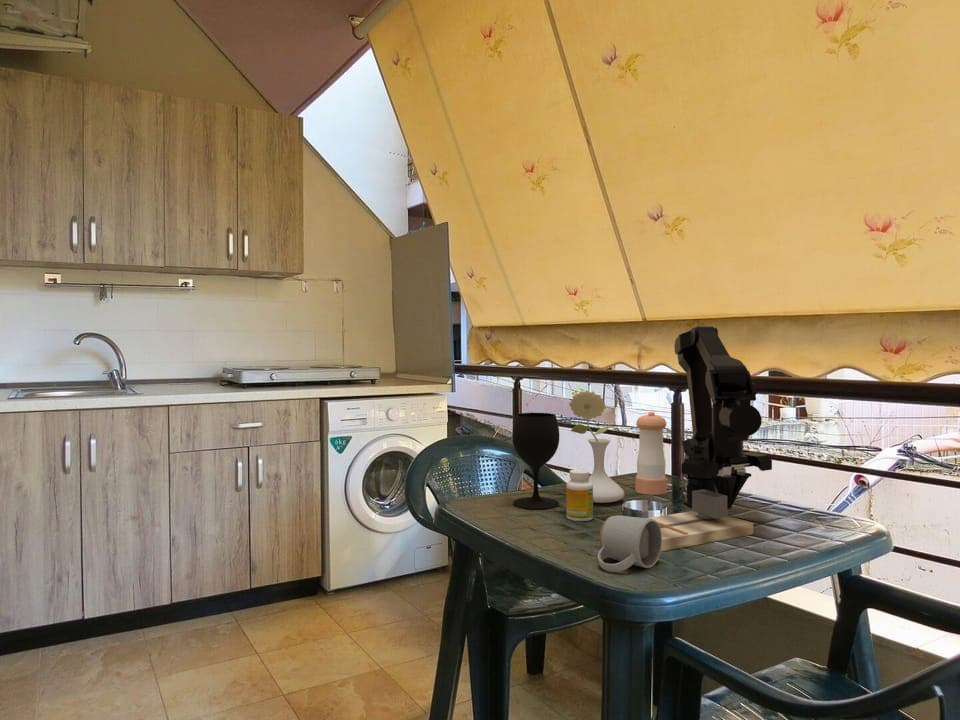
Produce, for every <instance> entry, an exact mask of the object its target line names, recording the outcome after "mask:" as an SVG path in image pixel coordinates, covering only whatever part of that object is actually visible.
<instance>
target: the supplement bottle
mask: <svg viewBox="0 0 960 720" xmlns="http://www.w3.org/2000/svg"><path fill="white" fill-rule="evenodd" d="M589 476H590V471H589V470H587V469H571V470H569V479H570V480H568V482H566V503H565V504H566V505H565V506H566V507H565V508H566V509H565V511H566V514H565V515H566V518H567V519H568V520H570V521H573V522H588V521H591V520H593V518H594V502H593V484H592V483H591V482H590V481H588V479H589Z"/></svg>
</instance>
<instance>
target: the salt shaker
mask: <svg viewBox="0 0 960 720" xmlns="http://www.w3.org/2000/svg"><path fill="white" fill-rule="evenodd" d="M635 425H636V427H637V428H638V429H639V442H638V443H639V445H638V447H639V448H638V455H637V459H636V460H637V461H636V475H635V491H636V492H637V493H638V494H642V495H652V496H657V495H659V496H660V495H665V494H667V493H668V490H667V488H668V484H667V483H668V479H667V476H666V457H665V451H664V430H665V429H666V427H667V421H666V419H665V417H662V416H660V415H657V414H656V413H655V412H654V411H649V412H648V413H647V414H645V415H642V416H639V417H638V418H637V420H636V424H635Z"/></svg>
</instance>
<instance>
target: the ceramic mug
mask: <svg viewBox="0 0 960 720" xmlns="http://www.w3.org/2000/svg"><path fill="white" fill-rule="evenodd" d="M648 518H649V517H637V516H636V517H635V516H628V515H626V516H625V515H611V516H609V517H608V518H607V517H606V519H605V520H604V522H603V524H602V526H601V528H600V531H599V538H598V539H599V546H600V550H599V551H598V553H597V562H598V564H599V566H600V568H601V569H602V570H604V571H605V572H609V573H619V572H623V571H626V570H627V569H629V568H630V567H632V566H635V567H639V568H643V569H650V568H652V567H654V566H655V565H656V563H657V562H658V560H659V558H660V556H661V552H662V551H661V547H662V534H661V529H660V526H659V524H658V523H657V522H656V521H655V520H653V519H648ZM605 556H606V557H608V558H610V559H611V560H615V561H618V562H616V563H606V562H604V561H603V560H604V558H605Z"/></svg>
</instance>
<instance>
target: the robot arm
mask: <svg viewBox="0 0 960 720" xmlns="http://www.w3.org/2000/svg"><path fill="white" fill-rule="evenodd" d="M673 348H674V353H675V355H677V362H678V365H679V366H680V367H681V368H682V370H683V371H684V372H685V374H686V377H687V379H686V380H687V386H688V387H687V388H688V389H687V390H688V398H689V399H688V400H689V408H690V410H689V411H690V418H691V427H692V436H691V438H688V439H685V440H684V441H683V451H684V457H683V460H682V462H681V476H682V477H683V478H685V479H686V480H687V484H686V500H684V501H682V505H686V506H689V507H692V491H696V490H703V489H704V490H708V491H712V492H715V493H719V494H723V495H726V496H727V510H729V509H731V508H732V507H733V505H734V503H735V501H736V499H737V498H738V495H739V493H740V492H741V490H742V488H743V486H744V485H745V484H746V482H747V480H748V479H750V477H752V473H751V472H750V473H748V472H747V470H746V468H748V467H749V468H751V467H755V468H758V469H759V470H760V471H761V472H765V471H771V470H772V469H773V459H772V458H771V457H770V456H769V455H768V454H764V453H760V452H759V453H758V452H752V451H747V452H744V441H748V440H749V436H752V435H755V434H756V433H757V432H758V431H759V430H760V428H761V425H762V423H763V419H762V415H761V413H760V411H759V409H758V408H756V407H755V406H753V405H751V401H752V402H756V401H757V397H756V396H757V394H758V391H757V388H756V386H755V383H754V379H753V377H752V376H751V373H750V371H749V370H748V368H747V366H746V365H745V364H744V363H743V361H741V360H740V359H737V358H735V357H732V356H730V354H729V352H728V350H727V348H726V347H725V345H724V343H723V341H722V340H721V338H720V337H719V330H718V328H717V327H714V326H709V325H708V326H705V325H703V326H700V325H699V326H695V327H692V328H691V329H690V330H688V331H685V332H683V333H680V334H679V335H678V336H677V337H676V338H675V341H674V347H673Z"/></svg>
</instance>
